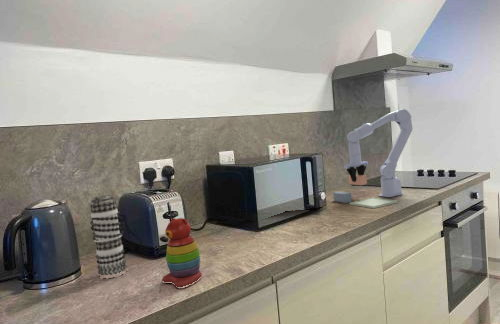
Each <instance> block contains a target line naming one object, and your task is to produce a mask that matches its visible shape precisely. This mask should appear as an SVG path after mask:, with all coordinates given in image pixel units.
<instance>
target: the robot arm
mask: <svg viewBox="0 0 500 324" xmlns="http://www.w3.org/2000/svg"><path fill="white" fill-rule="evenodd" d="M389 122H390V123H391V122H395V123H396V124H397V125H398V127H399V129H400V131H399V134H398V136H397V137H396V140H395V141H394V144H393V146H392V148H391V150H390V152H389V154H388V157H387V158H386V160H385V161H384V163H383V164H382V165H380V167H379V174H380V175H381V176H380V177H379V178H380V186H381V193H380V194H378V195H377V196H378V197H386V198H391V197H392V198H393V197H396V196H401V195H404V193H403V191H402V182H401V179H400V178H399V177H397V176H396V169H397V167H398V161H399V160H400V158H401V155H402V152H403V151H404V148H405V146H406V144H407V143H408V140H409V138H410V137H411V133H412V132H413V123H412V115H411V113H410V112H409V111H408V110H407V109H405V108H401V109H397V110H395V111H392V112H390V113H387V114H385V115H384V116H382V117H380V118H378V119H376V120H375V121H373V122H372V123H369V122H368V123H363V124H362V125H361V126H358V127H357V128H354V129H353V131H350V132H348V134H347V136H346V139H347V141H348V157H349V163H347V164H343V168H344V169H345V170H346V171H347V173H348V174H349V175H350V176H351V179H352V182H356V175H365V172H366V169H367V166H368V165H369V161H368V160H367V161H362V154H361V145H360V139H364V138H366V137H368V136H370V135H371V134H373V133H374V130H375V129H377V128H379V127H381V126H383V125H385V124H388V123H389Z"/></svg>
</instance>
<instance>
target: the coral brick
mask: <svg viewBox="0 0 500 324" xmlns="http://www.w3.org/2000/svg"><path fill="white" fill-rule="evenodd" d="M347 177H348V185H354V186H364V185H368V180H367V179H368V178H367V175H366V174H364V175H358V174H356V182H352V179H351V176H350V174H349V175H348V176H347Z"/></svg>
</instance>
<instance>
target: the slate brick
mask: <svg viewBox="0 0 500 324" xmlns="http://www.w3.org/2000/svg"><path fill="white" fill-rule="evenodd" d="M332 193H333V194H332V195H333V201H334V202H338V203H343V204H346V203H350V202H353V200H352V199H353V197H352V193H351V192H347V191H336V192H332Z"/></svg>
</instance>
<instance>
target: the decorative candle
mask: <svg viewBox="0 0 500 324" xmlns="http://www.w3.org/2000/svg"><path fill="white" fill-rule="evenodd" d="M88 205H89V206H90V211H91V212H90V217H91V220H90V222H89V224H90V225H91V226H90V229H91V231H93V232H92V233H91V235H92V237H93V238H92V240H93V242H94V243H95V247H96V249H95V252H96V255H95V258H96V263H97V266H96V267H97V269H98V270H97V273H98V275H99V274H101V275H112V274H117V273H120V272H122V271H124V270H125V269H127V267H128V265H127V264H126V263H127V260H126V259H125V257H126V255H125V254H124V253H125V251H126V250H124V245H123V241H122V237H123V233H122V232H120V231H121V230H122V229H123V228H122V226H121V225H122V222H121V221H119V219H121V218H122V216H121V215H120V213H121V211H118V208H117V199H116V198H114V197H113V196H112V195H111V194H106V195H99V196H95V197H93V198H92V199H91V201H90V202H89V203H88Z"/></svg>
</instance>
